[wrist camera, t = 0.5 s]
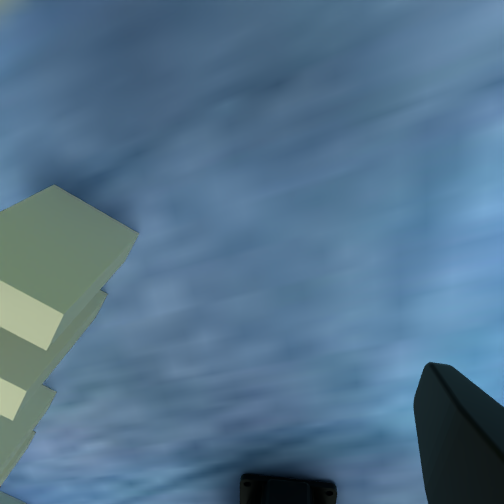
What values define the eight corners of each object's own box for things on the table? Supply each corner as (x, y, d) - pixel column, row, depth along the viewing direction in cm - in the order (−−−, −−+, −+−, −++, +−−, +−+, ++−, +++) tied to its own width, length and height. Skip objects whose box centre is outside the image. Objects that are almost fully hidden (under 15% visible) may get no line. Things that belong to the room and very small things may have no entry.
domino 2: (28, 250, 24) (-90, 332, 17) (107, 294, 25) (26, 391, 18) (17, 276, 25) (-99, 365, 18) (95, 318, 26) (12, 420, 18)
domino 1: (54, 184, 22) (-66, 245, 15) (139, 233, 23) (63, 314, 16) (42, 215, 23) (-77, 286, 16) (124, 261, 24) (46, 350, 17)
